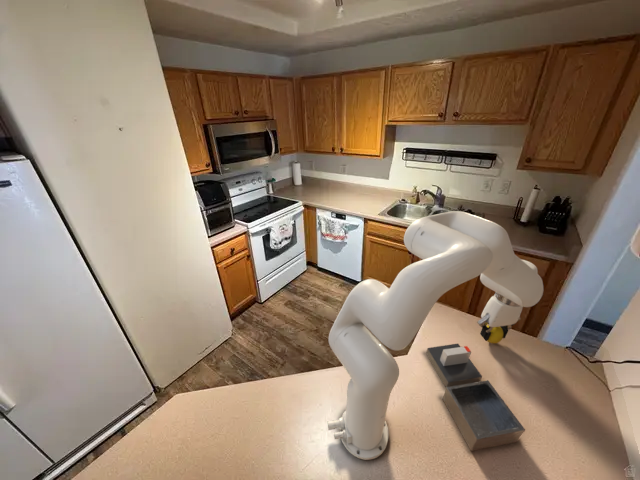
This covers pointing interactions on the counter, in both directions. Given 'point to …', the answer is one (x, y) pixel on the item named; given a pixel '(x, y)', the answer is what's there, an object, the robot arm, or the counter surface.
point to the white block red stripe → (455, 356)
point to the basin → (482, 415)
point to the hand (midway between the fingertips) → (492, 335)
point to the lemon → (496, 335)
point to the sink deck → (453, 368)
